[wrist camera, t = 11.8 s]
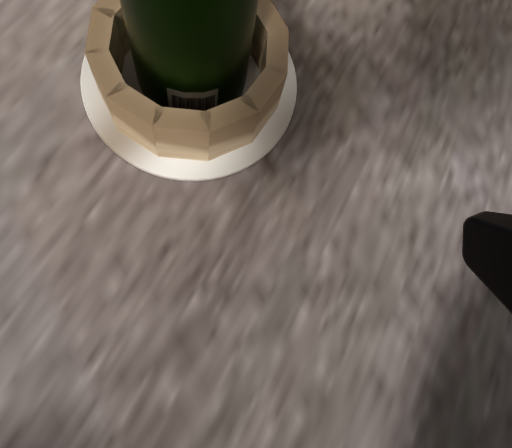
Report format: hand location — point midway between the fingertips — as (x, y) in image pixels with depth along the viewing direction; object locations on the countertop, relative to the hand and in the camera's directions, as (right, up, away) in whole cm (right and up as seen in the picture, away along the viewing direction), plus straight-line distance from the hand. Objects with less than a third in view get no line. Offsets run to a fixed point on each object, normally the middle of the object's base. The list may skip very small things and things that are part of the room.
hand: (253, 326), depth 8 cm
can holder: (-3, +9, +17) cm, 19 cm away
